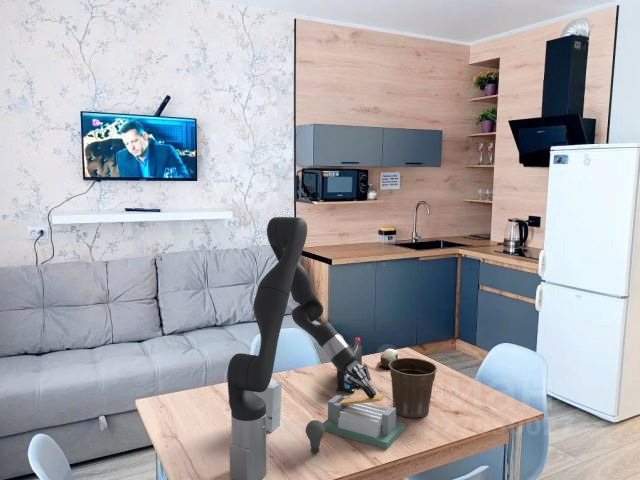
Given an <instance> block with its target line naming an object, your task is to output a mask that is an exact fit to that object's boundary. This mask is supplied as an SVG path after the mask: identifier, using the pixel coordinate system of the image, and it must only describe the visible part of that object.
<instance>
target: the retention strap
mask: <svg viewBox="0 0 640 480" xmlns="http://www.w3.org/2000/svg"><path fill="white" fill-rule="evenodd" d="M383 399H385V394H376V395H375V396H374V397H373V398H371V399H370V398H369V397H368V396H367V395H366V396H360V397H350V398H349V399H343V400H342V401H341V402H339V403H341V404H342V405H350V404H359V403H375V402H381V401H382V400H383Z"/></svg>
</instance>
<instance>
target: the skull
mask: <svg viewBox="0 0 640 480" xmlns="http://www.w3.org/2000/svg"><path fill="white" fill-rule="evenodd" d="M399 358H400V356H399V353H398V351H397V350H395V349H393V348H387V349H385V350H384V351H383V352H382V353H381V354H380V358H379V359H380V361H378V362H377V363H376V367H377V368H380V369H384V370H385V371H389V372H390V368H389V363H390V362H391V361H392V360H395V359H399Z"/></svg>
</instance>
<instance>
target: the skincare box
mask: <svg viewBox="0 0 640 480" xmlns="http://www.w3.org/2000/svg"><path fill="white" fill-rule="evenodd" d="M282 385H283V383H282V382H279V381H275V380H272V379H271V380H270V383H269V386H268V387H267V389H266V390H265V391H264V392H253V391H252V392H253V393H254V394H256V395H257V396H258V397H260V398H261V399H263V400H264V402H265V404H266V432H268V433H273V432H274V431H275V430H277V429H278V428H279V427H280V426H281V410H282V407H281V406H282Z"/></svg>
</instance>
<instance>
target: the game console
mask: <svg viewBox="0 0 640 480" xmlns="http://www.w3.org/2000/svg"><path fill="white" fill-rule="evenodd" d="M352 339H353V343H352V344H348V345H349V347H350V348H351V349H352V350H353V352H354V353H355V354H356V356H357V357H356V358H355V359H356V361H358V362H359V363H360V365H362V366H363V345H361V338H360V337H359V336H358V337H354V338H352ZM345 379H346V376H345V375H344V374H343V371H342V370H341V371H338V370H337V369H336V392H338V393H347V394H348V393H351V394H354V393H355V391H356V389H355V388H353V387H351V386H349V385H347V384H345V383H344V380H345Z"/></svg>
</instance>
